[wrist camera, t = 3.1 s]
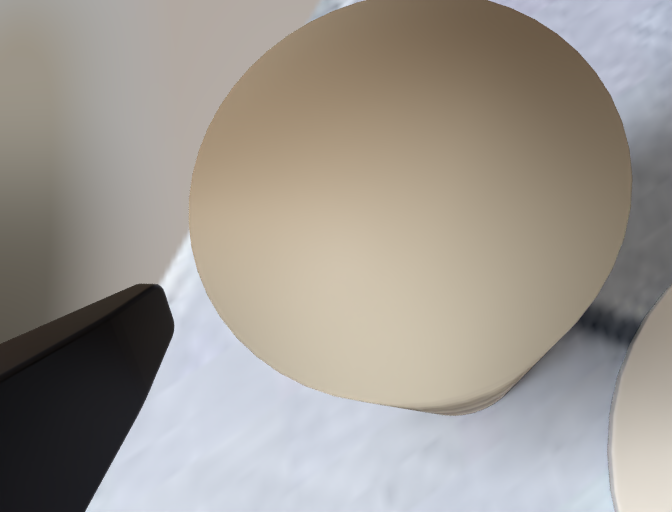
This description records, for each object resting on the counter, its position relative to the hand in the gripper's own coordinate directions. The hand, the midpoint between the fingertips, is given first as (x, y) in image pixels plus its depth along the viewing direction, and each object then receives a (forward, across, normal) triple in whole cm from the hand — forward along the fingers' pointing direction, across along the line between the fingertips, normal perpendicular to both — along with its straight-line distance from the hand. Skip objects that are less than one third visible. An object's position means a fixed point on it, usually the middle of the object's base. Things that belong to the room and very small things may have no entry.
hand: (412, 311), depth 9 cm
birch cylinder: (+6, 0, +6) cm, 8 cm away
